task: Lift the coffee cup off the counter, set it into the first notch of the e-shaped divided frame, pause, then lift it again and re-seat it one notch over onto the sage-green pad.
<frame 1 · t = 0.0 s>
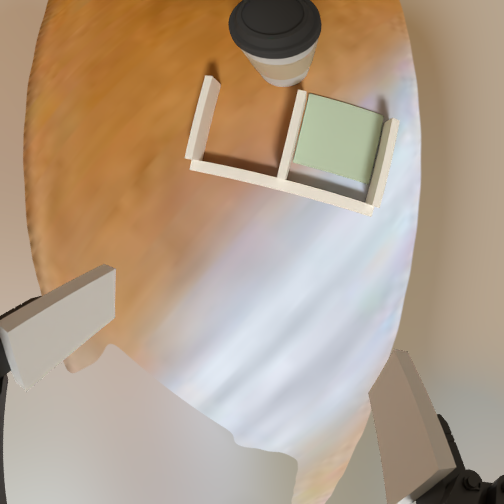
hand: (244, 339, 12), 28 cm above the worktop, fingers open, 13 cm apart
coffee cup: (283, 66, 33), on the worktop
e-shaped divided frame: (293, 136, 35), on the worktop
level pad: (340, 134, 34), on the worktop
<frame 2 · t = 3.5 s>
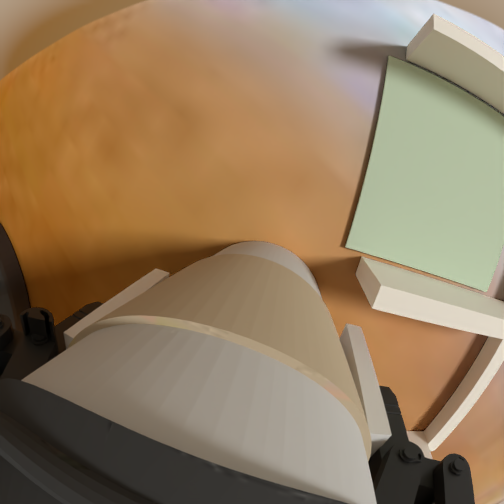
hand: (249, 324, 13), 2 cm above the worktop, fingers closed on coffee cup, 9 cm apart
coffee cup: (258, 301, 15), on the worktop, touching gripper
e-shaped divided frame: (441, 290, 13), on the worktop
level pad: (447, 175, 12), on the worktop
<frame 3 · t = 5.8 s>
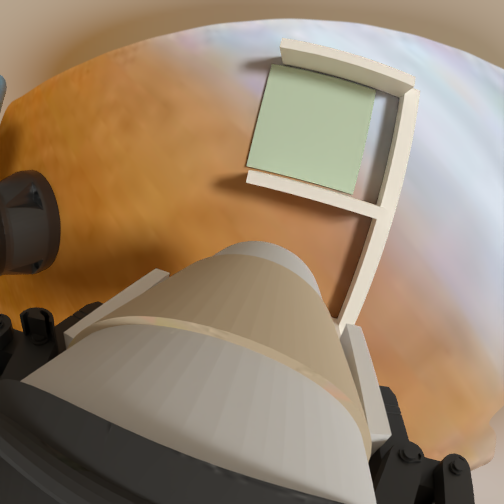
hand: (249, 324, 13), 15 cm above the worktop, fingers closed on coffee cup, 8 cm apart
coffee cup: (258, 302, 15), point 12 cm above the worktop, touching gripper
e-shaped divided frame: (313, 191, 25), on the worktop
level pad: (307, 123, 23), on the worktop
when the fingers open (3 cm above the worktop, at t = 8.1 s): coffee cup stays where it is, on the worktop.
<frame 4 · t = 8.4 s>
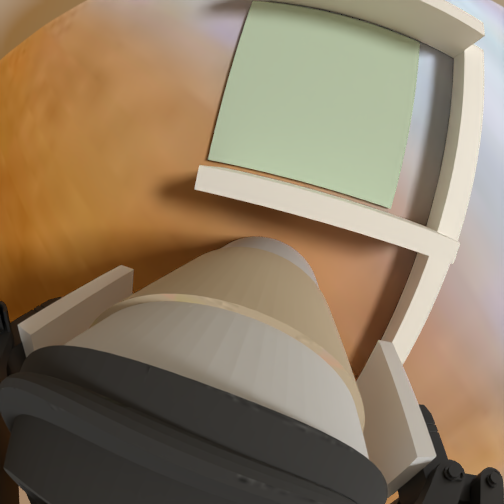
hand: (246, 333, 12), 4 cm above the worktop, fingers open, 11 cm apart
coffee cup: (260, 294, 16), on the worktop
e-shaped divided frame: (324, 202, 14), on the worktop
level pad: (313, 86, 13), on the worktop
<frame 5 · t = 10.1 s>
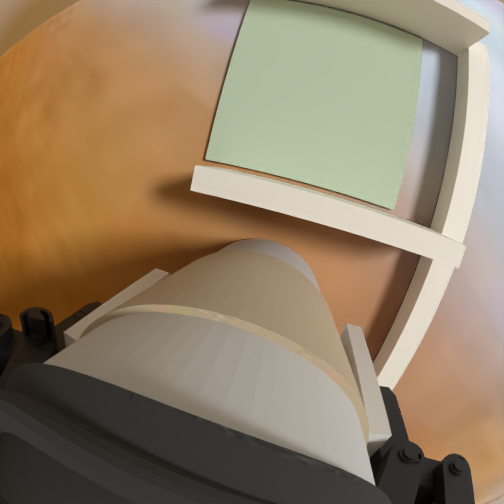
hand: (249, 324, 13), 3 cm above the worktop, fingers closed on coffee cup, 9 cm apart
coffee cup: (259, 297, 16), on the worktop, touching gripper
e-shaped divided frame: (325, 203, 14), on the worktop
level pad: (314, 83, 12), on the worktop
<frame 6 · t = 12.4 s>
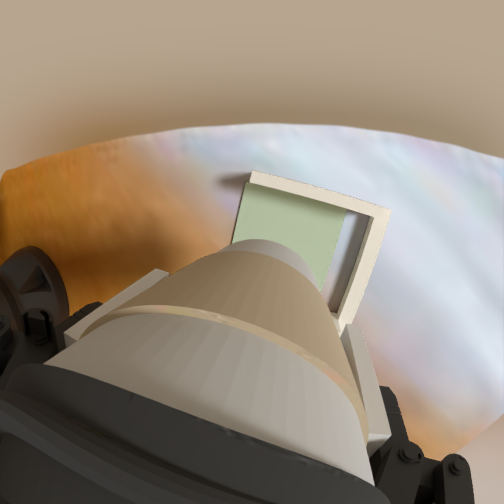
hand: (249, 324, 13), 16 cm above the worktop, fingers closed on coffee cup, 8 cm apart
coffee cup: (259, 298, 16), point 13 cm above the worktop, touching gripper
e-shaped divided frame: (281, 303, 30), on the worktop
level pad: (278, 244, 28), on the worktop
when the fingers open (3 cm above the worktop, at t = 15.0 s): coffee cup stays where it is, resting on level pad.
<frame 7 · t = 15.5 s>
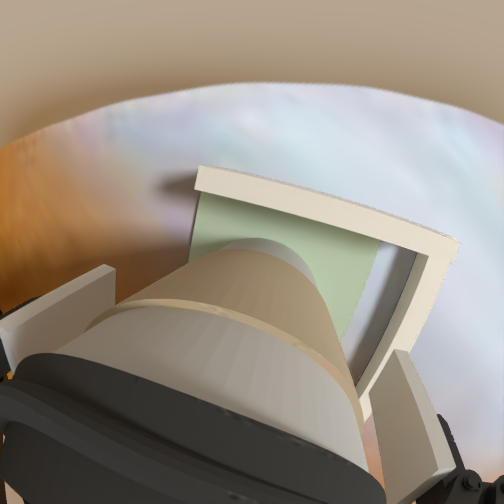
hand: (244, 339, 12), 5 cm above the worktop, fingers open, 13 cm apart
coffee cup: (258, 296, 16), resting on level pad
e-shaped divided frame: (267, 380, 18), on the worktop
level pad: (260, 295, 16), on the worktop
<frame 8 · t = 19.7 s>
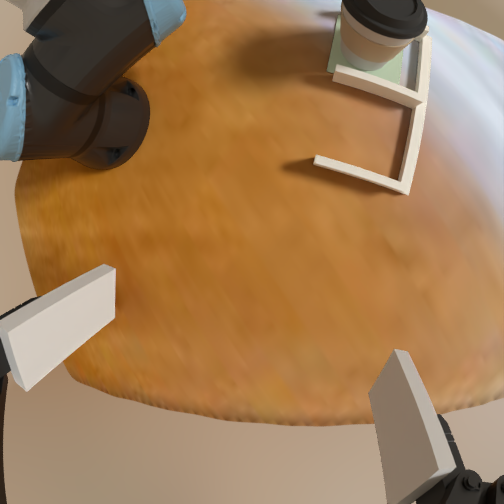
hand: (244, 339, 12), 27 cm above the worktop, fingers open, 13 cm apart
coffee cup: (364, 50, 29), resting on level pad
e-shaped divided frame: (372, 90, 30), on the worktop
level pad: (364, 50, 29), on the worktop
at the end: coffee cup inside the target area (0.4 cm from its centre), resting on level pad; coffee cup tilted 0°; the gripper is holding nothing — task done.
